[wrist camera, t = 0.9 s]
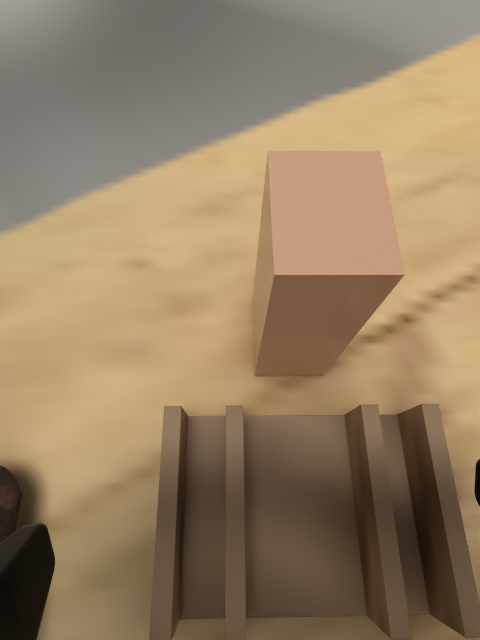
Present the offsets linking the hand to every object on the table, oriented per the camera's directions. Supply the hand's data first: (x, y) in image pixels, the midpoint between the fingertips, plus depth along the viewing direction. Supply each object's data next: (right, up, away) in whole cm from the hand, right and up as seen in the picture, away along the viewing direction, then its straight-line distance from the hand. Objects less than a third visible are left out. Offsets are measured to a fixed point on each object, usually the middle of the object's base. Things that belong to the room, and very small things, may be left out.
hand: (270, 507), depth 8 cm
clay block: (+2, +3, +16) cm, 16 cm away
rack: (+2, -6, +12) cm, 14 cm away
